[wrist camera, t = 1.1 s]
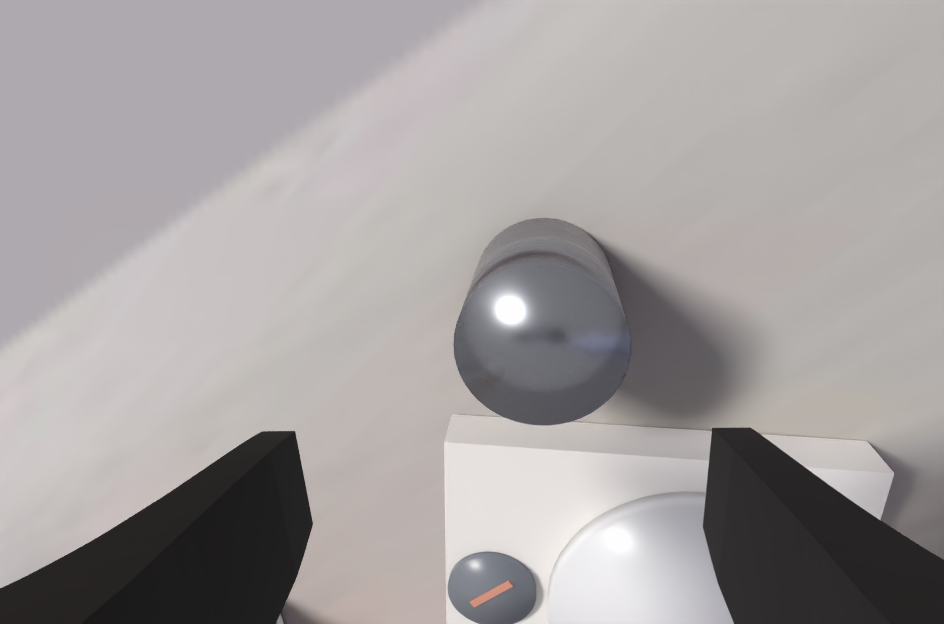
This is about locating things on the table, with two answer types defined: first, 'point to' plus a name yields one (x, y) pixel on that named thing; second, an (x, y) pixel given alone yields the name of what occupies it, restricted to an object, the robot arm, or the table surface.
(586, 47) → the table surface
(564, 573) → the kitchen scale
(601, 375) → the cylinder
